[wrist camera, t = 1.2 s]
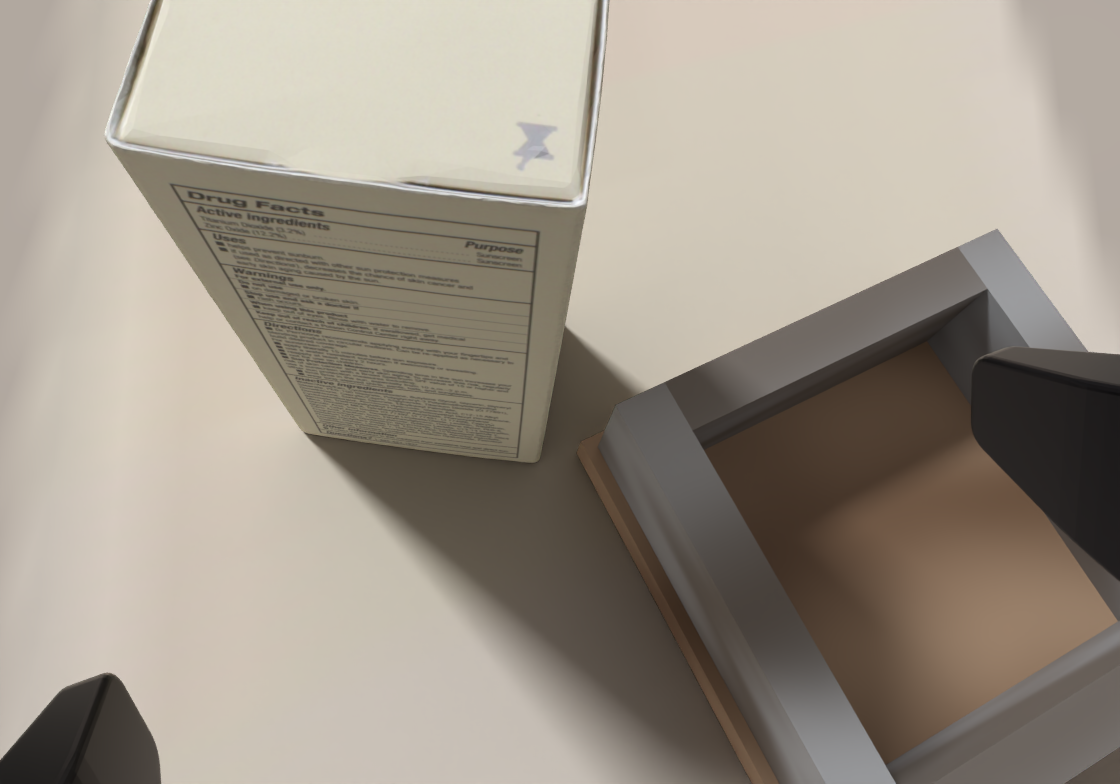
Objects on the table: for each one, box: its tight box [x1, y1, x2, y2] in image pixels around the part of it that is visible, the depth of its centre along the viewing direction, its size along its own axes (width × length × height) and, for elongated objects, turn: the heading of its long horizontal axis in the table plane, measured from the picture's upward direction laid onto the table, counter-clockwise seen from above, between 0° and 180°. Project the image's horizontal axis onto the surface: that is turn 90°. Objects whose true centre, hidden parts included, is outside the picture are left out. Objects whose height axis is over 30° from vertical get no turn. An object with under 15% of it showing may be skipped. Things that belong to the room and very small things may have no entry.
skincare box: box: [104, 0, 609, 463], centre depth 18 cm, size 6×4×12 cm
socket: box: [577, 229, 1120, 784], centre depth 21 cm, size 11×11×4 cm
